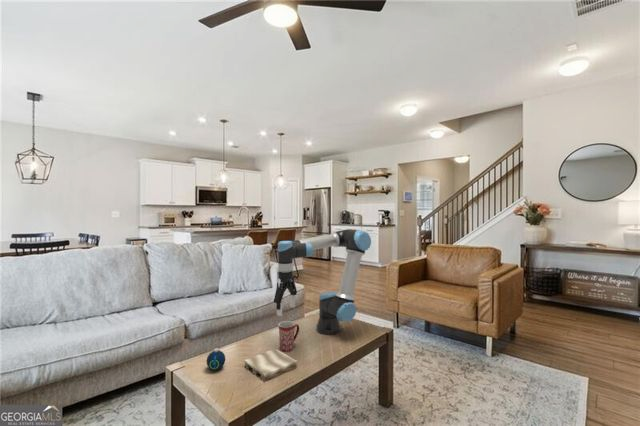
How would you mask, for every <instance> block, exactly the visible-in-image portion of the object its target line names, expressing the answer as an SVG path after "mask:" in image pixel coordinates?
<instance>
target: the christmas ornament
mask: <svg viewBox="0 0 640 426" xmlns="http://www.w3.org/2000/svg"><path fill="white" fill-rule="evenodd" d="M225 363H226V354H225V353H224V352H223V351H222V350H219V348H218V347H217V348H216V347H215V348H214V349H213V351H211V352H209V354H208V355H207V357H206V366H207V367H208V368H209V369H210V370H213V371H217V370H219V369H222V367H223V366H224V365H225Z"/></svg>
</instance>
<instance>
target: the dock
mask: <svg viewBox="0 0 640 426" xmlns="http://www.w3.org/2000/svg"><path fill="white" fill-rule="evenodd" d="M297 364H298V360H296V359H294V358H293V357H291V356H289V355H287V354H285V353H284V352H283V351H282V350H281V351H280V349H277V348H273V349H270V350H268V351H265V352H262V353H260V354H257V355H253V356H251V357H249V358H246V359H244V367H245V368H246V369H248V370H249V369H252V373H253V374H254V375H255V376H257V375H260V379H261V380H262V381H263V382H266V381H268V380H270V379H273V378H276V377H278V376H280V375H282V374H284V373H286V372H289V371H290V370H293V369H295V368H297Z"/></svg>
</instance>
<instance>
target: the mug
mask: <svg viewBox="0 0 640 426" xmlns="http://www.w3.org/2000/svg"><path fill="white" fill-rule="evenodd" d="M277 326H278V334H279V336H278V337H279V351H280V350H281V352H290V351H292V350H294V348H295V346H294V345H295V341H296V339H297V337H298V335H299V332H300V326H299V324H298V323H295V322H294V321H291V320H284V321H280V322H278V325H277ZM295 330H296V331H295Z"/></svg>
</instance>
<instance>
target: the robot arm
mask: <svg viewBox="0 0 640 426" xmlns="http://www.w3.org/2000/svg"><path fill="white" fill-rule="evenodd" d="M371 244H372V237H371V236H370V234H369V233H368V232H367V231H366V230H363V229H362V230H361V229H350V228H347V229H340V230H338V231H333V232H331V233H330V234H325V235H319V236H313V237H307V238H302V239H296V240H282V241H279V242H278V243H277V259H278V260H277V266H278V267H277V269H278V272H277V274H278V275H277V277H278V280H280V282H276V288H275V293H274V299H273V303H275V304H276V316H278V317H282V316H283V303H282V300H283V297H284V295H285V292H286V291H287V290H288V292H289V307H290V308H295V307H296V298H295V297H296V295H297V294H298V293H297V292H298V290H297V287H296V284H295V283H296V282H295V278H294V277H293V276H294V272H293V270H294V269H293V268H294V266H293V265H294V264H293V260H295V259H300V258H310V257H312V255H313V254H314V250H315V251H316V250H321V249H325V248H330V247H334V248H339V247H341V248H345V251H346V253H347V254H346V258H345V262H344V263H345V264H344V267H343V271H342V276H341V280H340V284H339V289H338V292H336V291H335V292H331V291H330V292H329V291H328V292H322V293H321V294H319V296H318V297H319V299H318V303H319V307H318V308H319V312H318V314H319V315H318V316H319V318H318V320H317V324H316V327H315V328H316V332H317V333H320V334H322V335H336V334H338V333H340V332H341V330H342V328H341V323H340V322H344V323H348V322H350V321H351V320H353V319H354V317H355V316H356V314H357V307H356V305H355V298H354V291H355V287H356V283H357V278H358V274H359V269H360V264H361V261H362V257H363V256H364V255H365V254H366V251H367V250H369V249H370V247H371Z"/></svg>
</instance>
